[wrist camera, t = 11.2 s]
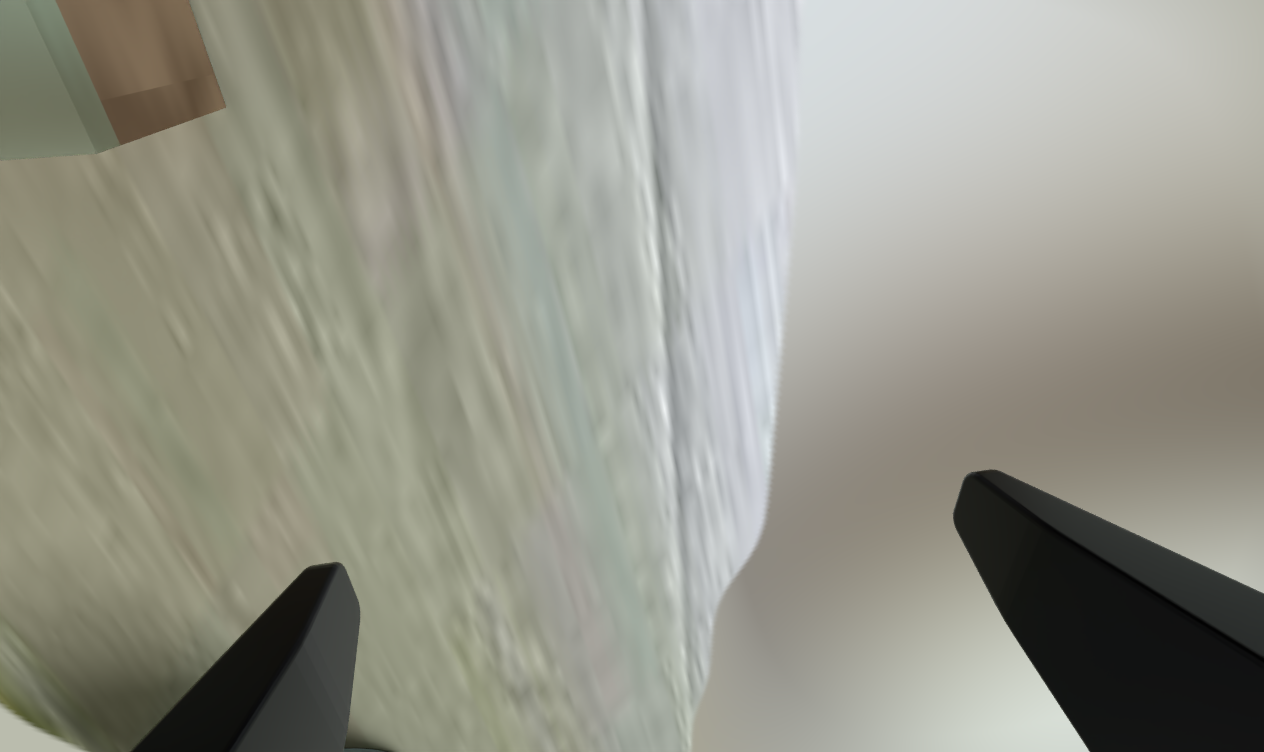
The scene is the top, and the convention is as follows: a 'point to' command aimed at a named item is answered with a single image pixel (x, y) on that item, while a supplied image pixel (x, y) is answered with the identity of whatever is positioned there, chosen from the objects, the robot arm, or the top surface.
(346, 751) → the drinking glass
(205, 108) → the box
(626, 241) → the top surface
